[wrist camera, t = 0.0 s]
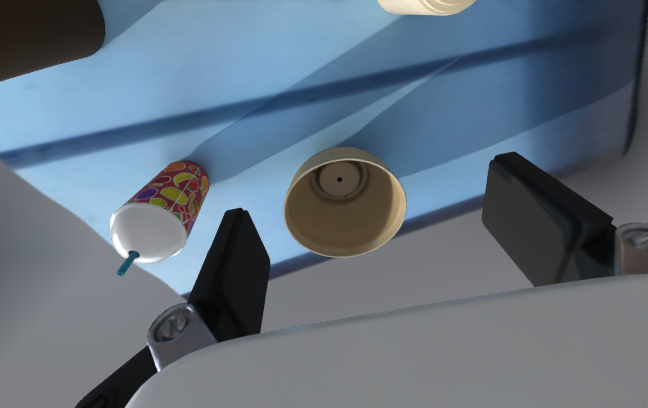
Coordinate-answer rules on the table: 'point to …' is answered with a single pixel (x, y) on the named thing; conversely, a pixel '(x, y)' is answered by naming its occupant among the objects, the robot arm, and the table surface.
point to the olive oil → (47, 33)
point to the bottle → (425, 6)
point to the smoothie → (159, 215)
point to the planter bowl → (344, 203)
